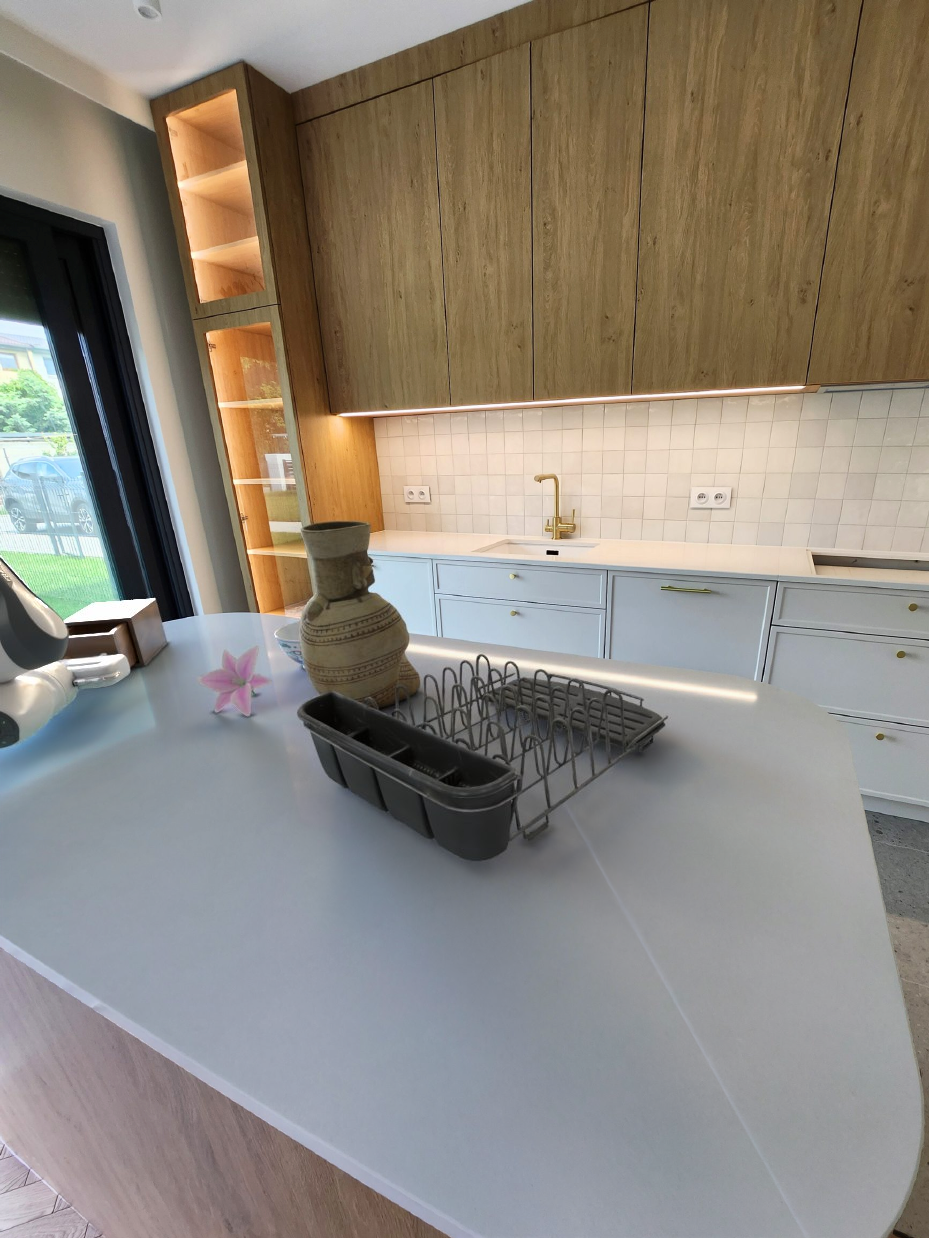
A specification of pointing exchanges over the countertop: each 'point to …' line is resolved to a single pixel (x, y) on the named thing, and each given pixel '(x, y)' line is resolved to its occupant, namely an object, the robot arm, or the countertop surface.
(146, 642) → the cabinet
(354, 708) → the dish rack
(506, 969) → the countertop surface
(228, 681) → the lily
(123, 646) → the drawer
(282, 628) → the chinaware
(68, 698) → the robot arm
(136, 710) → the countertop surface
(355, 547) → the ceramic vessel
